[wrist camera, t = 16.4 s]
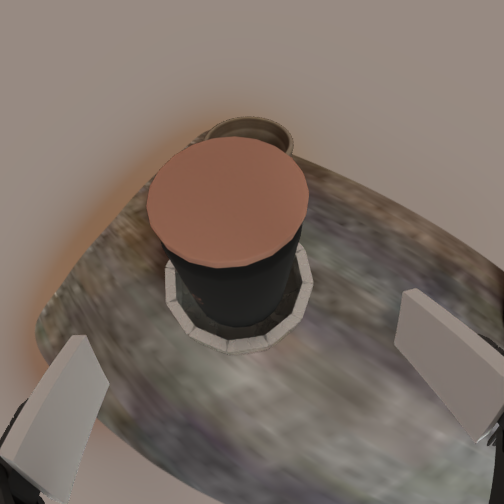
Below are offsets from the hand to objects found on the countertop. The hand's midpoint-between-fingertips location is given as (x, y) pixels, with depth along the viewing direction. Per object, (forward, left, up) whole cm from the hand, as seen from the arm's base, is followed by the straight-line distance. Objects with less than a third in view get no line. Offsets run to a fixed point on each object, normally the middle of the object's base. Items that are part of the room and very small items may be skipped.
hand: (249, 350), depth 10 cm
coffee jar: (0, -10, -21) cm, 23 cm away
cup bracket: (0, -11, -22) cm, 24 cm away
